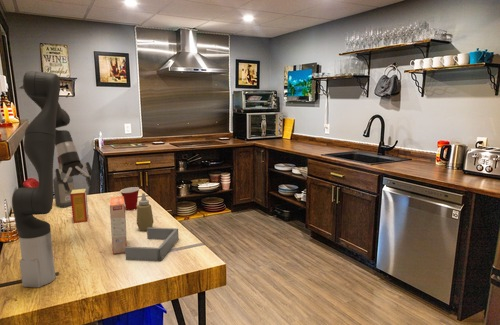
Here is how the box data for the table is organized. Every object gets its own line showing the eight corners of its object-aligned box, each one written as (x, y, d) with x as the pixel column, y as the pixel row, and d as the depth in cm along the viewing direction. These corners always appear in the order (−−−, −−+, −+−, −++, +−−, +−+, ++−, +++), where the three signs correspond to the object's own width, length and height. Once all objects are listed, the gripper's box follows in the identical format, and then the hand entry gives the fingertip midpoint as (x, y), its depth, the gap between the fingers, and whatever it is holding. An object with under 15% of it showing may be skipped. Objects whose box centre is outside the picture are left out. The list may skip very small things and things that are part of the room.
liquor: (77, 204, 210) (72, 156, 205) (62, 208, 202) (57, 158, 197) (68, 202, 215) (64, 155, 210) (54, 206, 207) (49, 157, 202)
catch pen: (160, 261, 134) (160, 249, 133) (125, 259, 135) (125, 247, 134) (178, 239, 156) (178, 228, 155) (148, 237, 157) (147, 227, 156)
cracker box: (128, 252, 142) (124, 203, 138) (112, 254, 139) (108, 205, 136) (127, 240, 154) (124, 195, 151) (112, 242, 152) (109, 196, 149)
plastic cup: (119, 207, 203) (118, 188, 201) (138, 205, 208) (137, 186, 206) (122, 212, 194) (121, 192, 192) (142, 209, 199) (141, 189, 197)
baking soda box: (75, 217, 186) (72, 189, 183) (88, 216, 188) (85, 187, 185) (73, 223, 177) (70, 193, 174) (87, 221, 179) (84, 192, 177)
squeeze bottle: (147, 225, 174) (145, 190, 171) (157, 228, 169) (155, 193, 166) (133, 229, 168) (131, 193, 165) (143, 233, 163) (140, 196, 160)
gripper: (50, 154, 143) (62, 190, 141) (86, 147, 152) (98, 181, 150) (48, 160, 149) (60, 195, 147) (83, 153, 158) (94, 186, 156)
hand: (79, 188), depth 149 cm, fingers open, 8 cm apart
